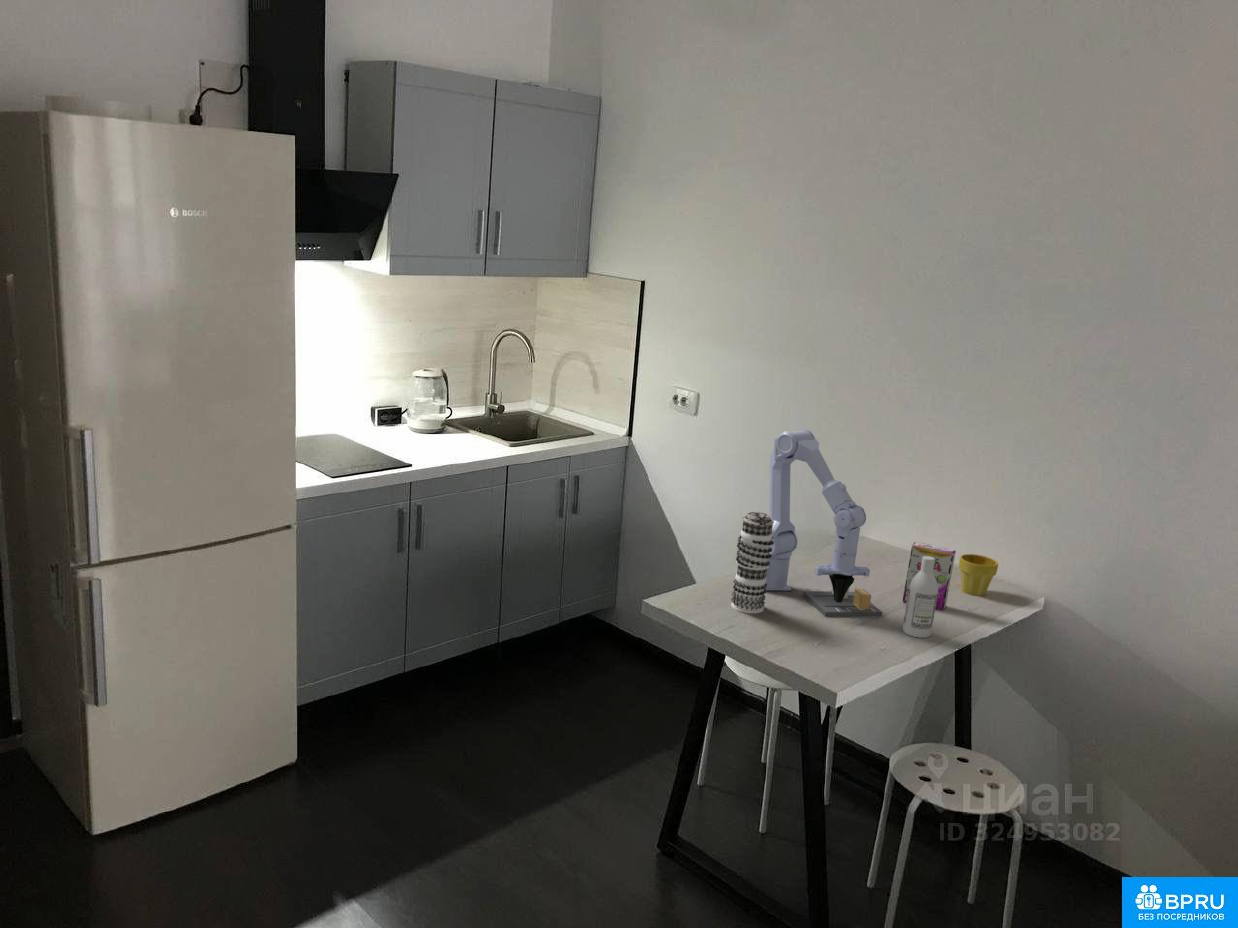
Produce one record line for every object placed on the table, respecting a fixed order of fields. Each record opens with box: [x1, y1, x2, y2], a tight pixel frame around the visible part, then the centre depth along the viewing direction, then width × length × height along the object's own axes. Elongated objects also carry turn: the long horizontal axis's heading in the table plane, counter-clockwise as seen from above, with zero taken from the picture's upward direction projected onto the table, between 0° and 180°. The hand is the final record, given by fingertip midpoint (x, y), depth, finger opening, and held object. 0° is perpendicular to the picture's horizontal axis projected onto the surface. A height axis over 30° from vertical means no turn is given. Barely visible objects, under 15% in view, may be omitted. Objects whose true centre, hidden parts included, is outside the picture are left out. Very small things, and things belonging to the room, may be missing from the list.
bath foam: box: [902, 556, 938, 639], centre depth 258 cm, size 7×7×20 cm
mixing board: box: [802, 590, 883, 618], centre depth 275 cm, size 16×15×1 cm
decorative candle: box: [730, 511, 774, 614], centre depth 265 cm, size 9×9×25 cm
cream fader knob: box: [831, 588, 850, 599], centre depth 278 cm, size 2×4×4 cm, turn 12°
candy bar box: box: [902, 541, 957, 612], centre depth 280 cm, size 11×5×16 cm, turn 65°
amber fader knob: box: [853, 588, 872, 610], centre depth 272 cm, size 2×4×4 cm, turn 12°
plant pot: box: [958, 553, 999, 597], centre depth 295 cm, size 10×10×10 cm
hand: (837, 601), depth 270 cm, fingers closed
